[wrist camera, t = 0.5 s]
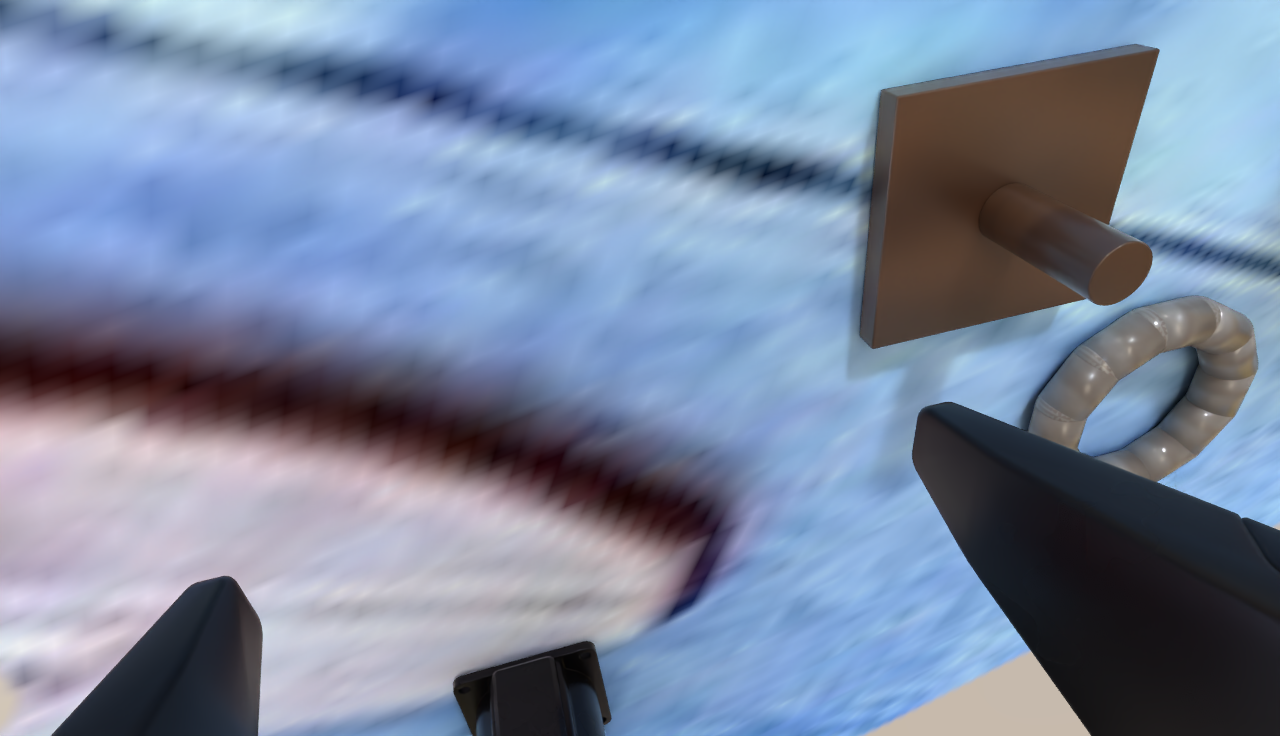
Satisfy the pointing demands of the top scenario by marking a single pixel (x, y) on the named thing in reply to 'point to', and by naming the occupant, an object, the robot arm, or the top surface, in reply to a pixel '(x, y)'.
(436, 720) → the top surface
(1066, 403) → the grey-brown segmented ring
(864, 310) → the tape stand
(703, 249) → the top surface
